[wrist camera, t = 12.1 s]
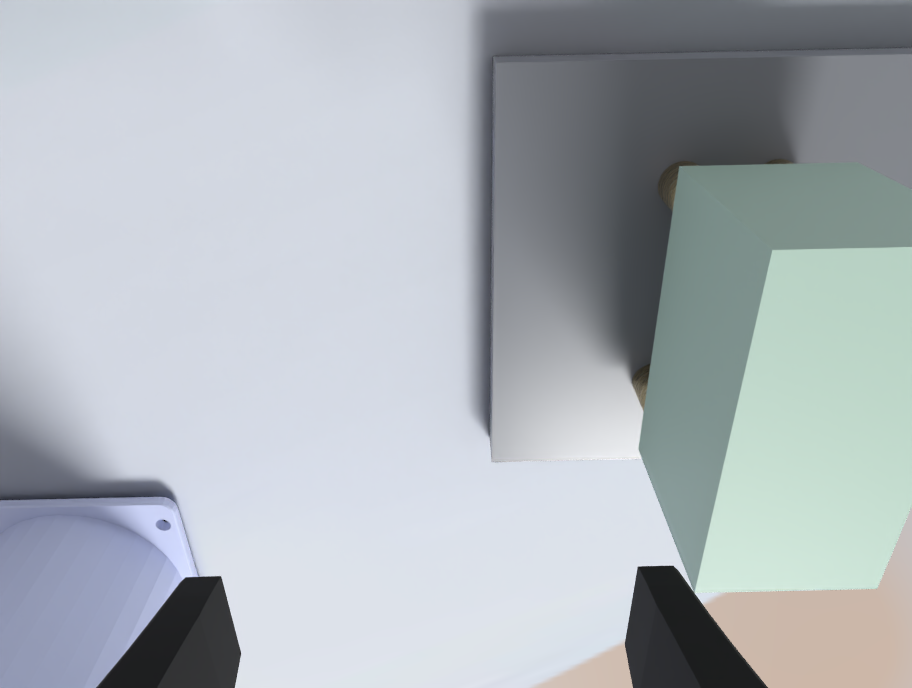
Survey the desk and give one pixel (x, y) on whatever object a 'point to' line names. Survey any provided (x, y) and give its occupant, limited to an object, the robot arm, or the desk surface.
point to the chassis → (639, 209)
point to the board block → (783, 376)
